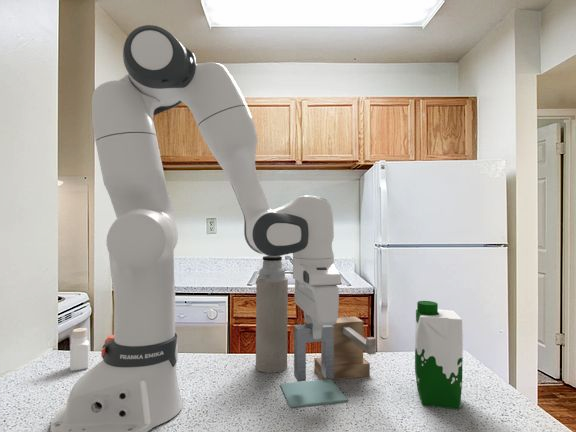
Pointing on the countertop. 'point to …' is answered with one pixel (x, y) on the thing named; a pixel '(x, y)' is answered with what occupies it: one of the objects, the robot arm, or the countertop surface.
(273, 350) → the thermos bottle
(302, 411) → the countertop surface
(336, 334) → the wooden peg hook block
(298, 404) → the mat
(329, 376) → the grey arched block
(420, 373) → the milk carton
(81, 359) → the salt shaker
